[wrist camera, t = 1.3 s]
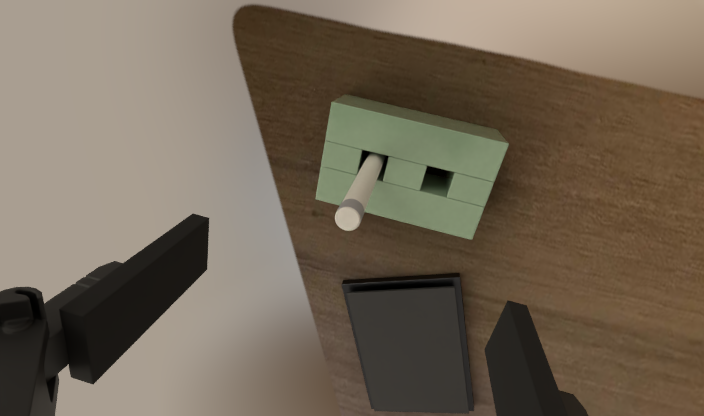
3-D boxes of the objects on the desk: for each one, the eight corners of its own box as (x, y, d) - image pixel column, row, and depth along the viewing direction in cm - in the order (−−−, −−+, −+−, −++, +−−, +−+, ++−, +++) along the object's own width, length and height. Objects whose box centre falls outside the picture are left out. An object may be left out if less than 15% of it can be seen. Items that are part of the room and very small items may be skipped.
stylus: (368, 148, 34) (328, 217, 20) (381, 138, 33) (348, 202, 20) (379, 160, 34) (346, 236, 21) (391, 150, 34) (366, 222, 20)
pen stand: (344, 93, 32) (331, 101, 28) (497, 129, 31) (509, 143, 27) (329, 180, 36) (314, 199, 31) (466, 215, 35) (472, 240, 30)
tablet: (343, 280, 40) (341, 284, 39) (459, 272, 37) (459, 277, 36) (372, 403, 46) (371, 408, 46) (473, 405, 43) (474, 411, 43)
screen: (347, 291, 39) (346, 293, 39) (454, 285, 36) (454, 287, 36) (374, 409, 45) (374, 411, 45) (468, 411, 42) (468, 413, 42)
